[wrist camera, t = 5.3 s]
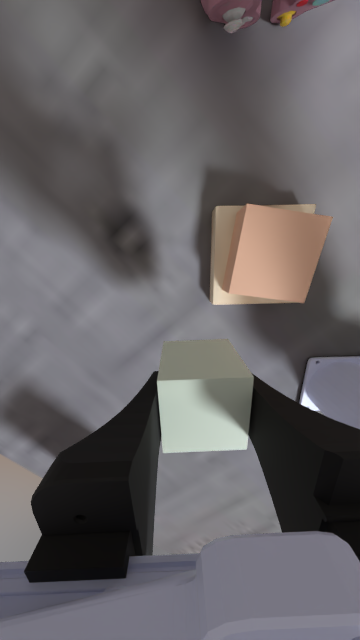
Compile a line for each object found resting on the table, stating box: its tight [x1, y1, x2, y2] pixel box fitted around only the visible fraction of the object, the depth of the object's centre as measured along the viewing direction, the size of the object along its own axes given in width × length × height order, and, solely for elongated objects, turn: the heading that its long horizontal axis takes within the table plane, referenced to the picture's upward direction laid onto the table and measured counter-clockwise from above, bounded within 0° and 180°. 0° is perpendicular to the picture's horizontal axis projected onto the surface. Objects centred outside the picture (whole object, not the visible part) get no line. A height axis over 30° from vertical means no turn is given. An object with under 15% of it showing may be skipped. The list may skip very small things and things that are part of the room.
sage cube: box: [157, 339, 254, 453], centre depth 11 cm, size 4×4×4 cm
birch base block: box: [210, 204, 316, 305], centre depth 19 cm, size 9×9×2 cm
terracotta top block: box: [222, 204, 333, 303], centre depth 16 cm, size 7×7×2 cm
